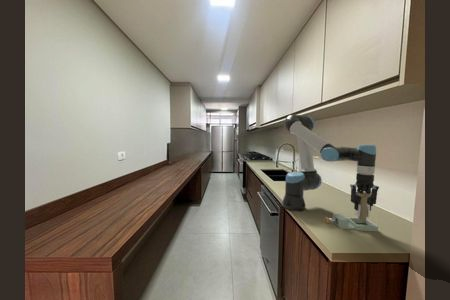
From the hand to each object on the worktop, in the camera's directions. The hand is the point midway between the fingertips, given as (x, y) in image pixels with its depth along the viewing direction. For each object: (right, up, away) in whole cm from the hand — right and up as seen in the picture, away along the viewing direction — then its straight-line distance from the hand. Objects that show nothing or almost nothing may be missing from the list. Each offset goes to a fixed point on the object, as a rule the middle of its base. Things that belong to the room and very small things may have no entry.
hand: (362, 216), depth 99 cm
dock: (-4, -6, +1) cm, 7 cm away
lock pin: (-15, -5, +2) cm, 16 cm away
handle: (0, -2, 0) cm, 2 cm away
